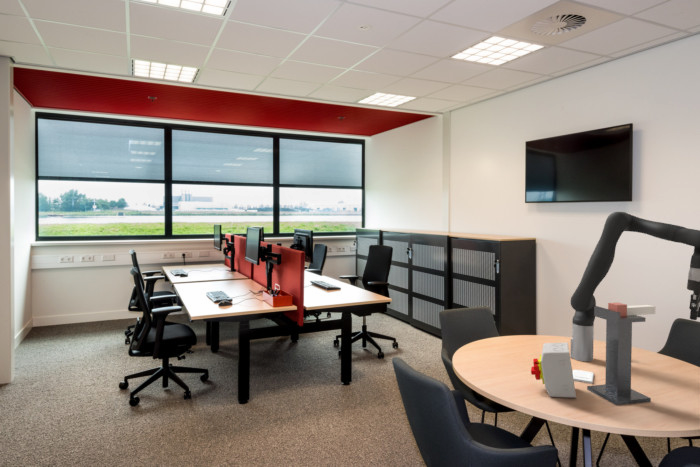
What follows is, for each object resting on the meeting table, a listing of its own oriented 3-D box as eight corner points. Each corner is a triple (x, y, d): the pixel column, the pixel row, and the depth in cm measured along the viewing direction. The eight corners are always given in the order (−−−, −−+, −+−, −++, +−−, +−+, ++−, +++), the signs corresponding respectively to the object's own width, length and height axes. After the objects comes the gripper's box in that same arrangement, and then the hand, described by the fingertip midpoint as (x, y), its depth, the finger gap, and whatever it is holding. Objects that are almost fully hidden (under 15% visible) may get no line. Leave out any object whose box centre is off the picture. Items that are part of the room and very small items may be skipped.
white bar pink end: (647, 311, 173) (647, 301, 173) (656, 314, 169) (657, 303, 169) (608, 314, 170) (608, 303, 170) (616, 316, 166) (617, 305, 165)
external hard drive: (593, 375, 192) (592, 385, 182) (573, 372, 196) (570, 381, 186) (593, 372, 192) (592, 381, 181) (573, 369, 196) (570, 377, 186)
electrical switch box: (536, 386, 184) (528, 340, 185) (574, 387, 178) (567, 339, 178) (534, 400, 171) (526, 349, 172) (576, 401, 165) (568, 349, 165)
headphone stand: (619, 386, 178) (620, 303, 177) (650, 402, 164) (652, 311, 162) (587, 389, 176) (588, 305, 174) (616, 405, 161) (617, 313, 159)
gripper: (691, 277, 185) (687, 314, 186) (684, 279, 175) (680, 318, 176) (714, 280, 179) (709, 318, 180) (708, 282, 170) (703, 322, 170)
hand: (695, 318), depth 178 cm, fingers open, 8 cm apart
